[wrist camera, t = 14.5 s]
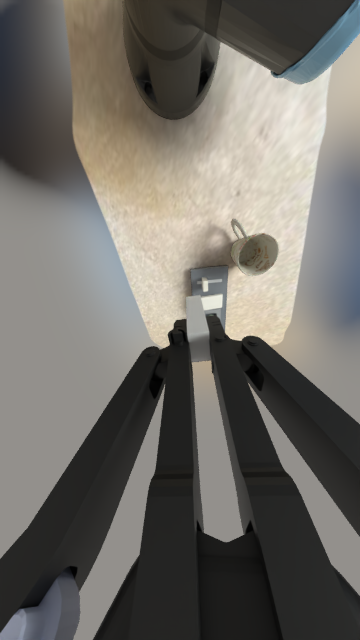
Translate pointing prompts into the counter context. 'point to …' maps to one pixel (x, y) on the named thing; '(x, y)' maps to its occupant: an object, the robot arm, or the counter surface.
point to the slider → (204, 284)
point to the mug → (253, 251)
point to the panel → (212, 287)
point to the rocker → (212, 301)
